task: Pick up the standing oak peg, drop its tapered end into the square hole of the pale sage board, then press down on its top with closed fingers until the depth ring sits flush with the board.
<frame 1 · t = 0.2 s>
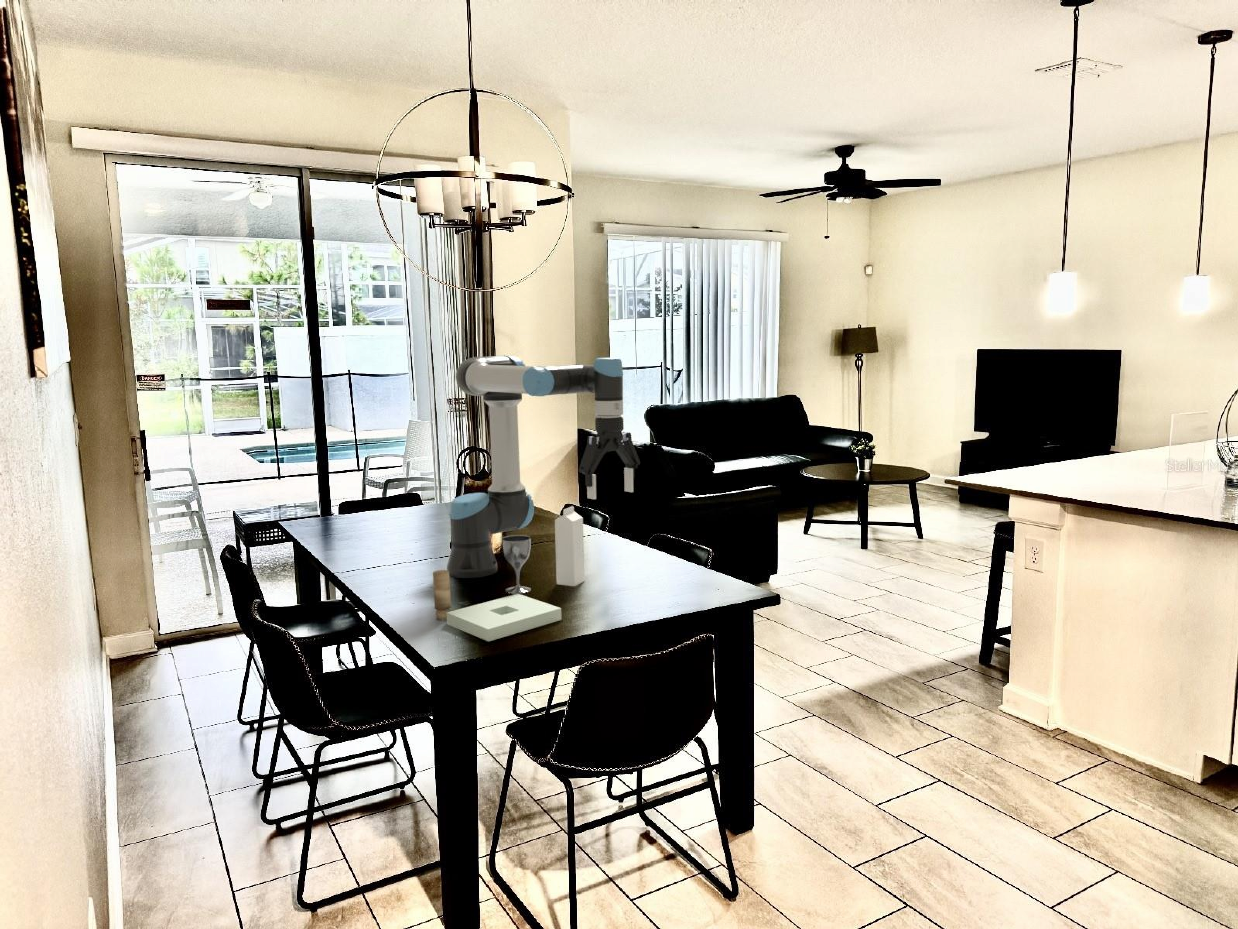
hand: (610, 495, 236), 28 cm above the table, fingers open, 13 cm apart
milk: (570, 583, 253), on the table
wine glass: (518, 590, 246), on the table
peg: (443, 617, 223), on the table
board: (504, 622, 219), on the table
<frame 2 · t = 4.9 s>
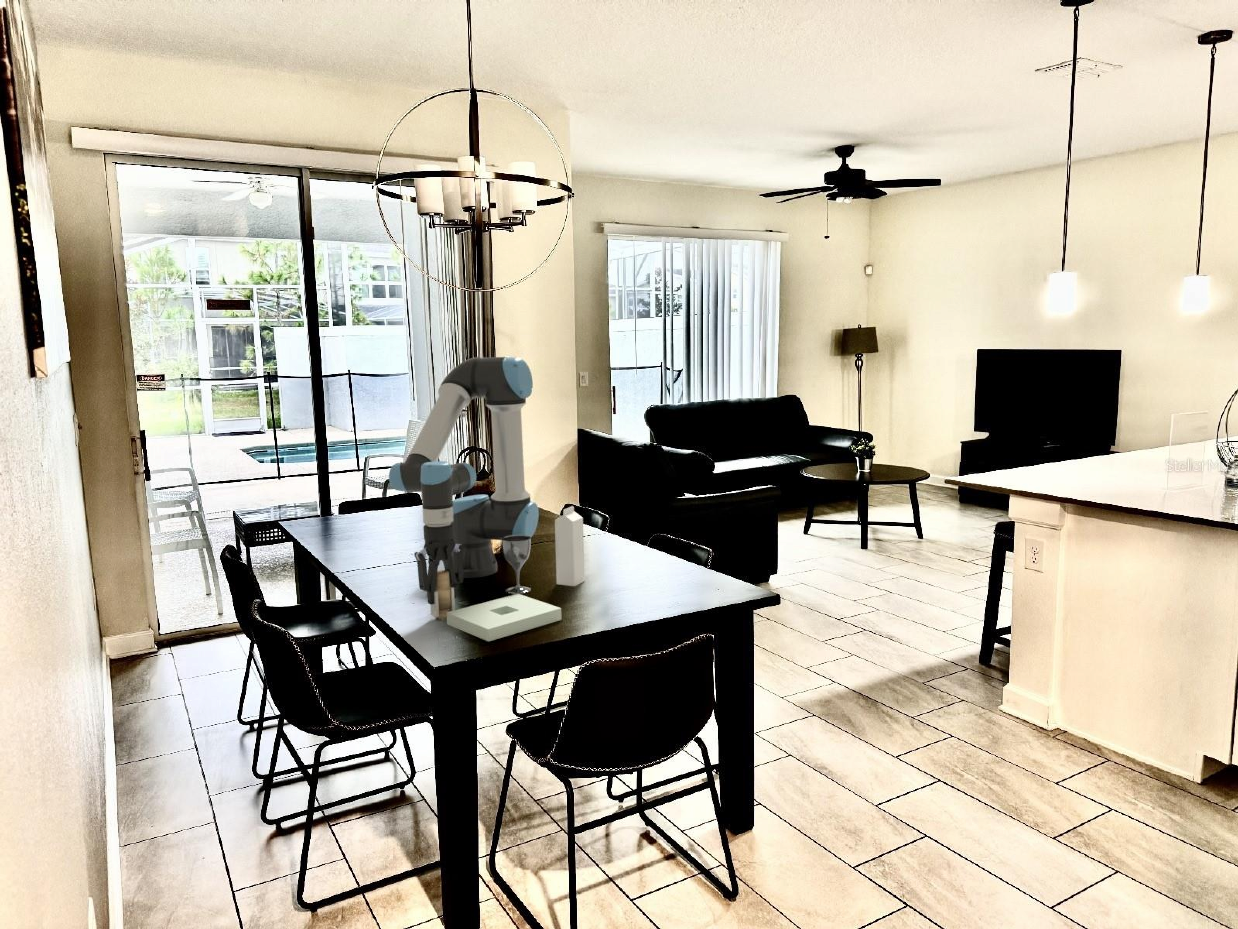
hand: (443, 613, 223), 1 cm above the table, fingers closed on peg, 4 cm apart
peg: (443, 617, 223), on the table, touching gripper
everything else where it was.
when the fingers open (5 cm above the table, at t = 8.3 s): peg drops 4 cm, resting in board.
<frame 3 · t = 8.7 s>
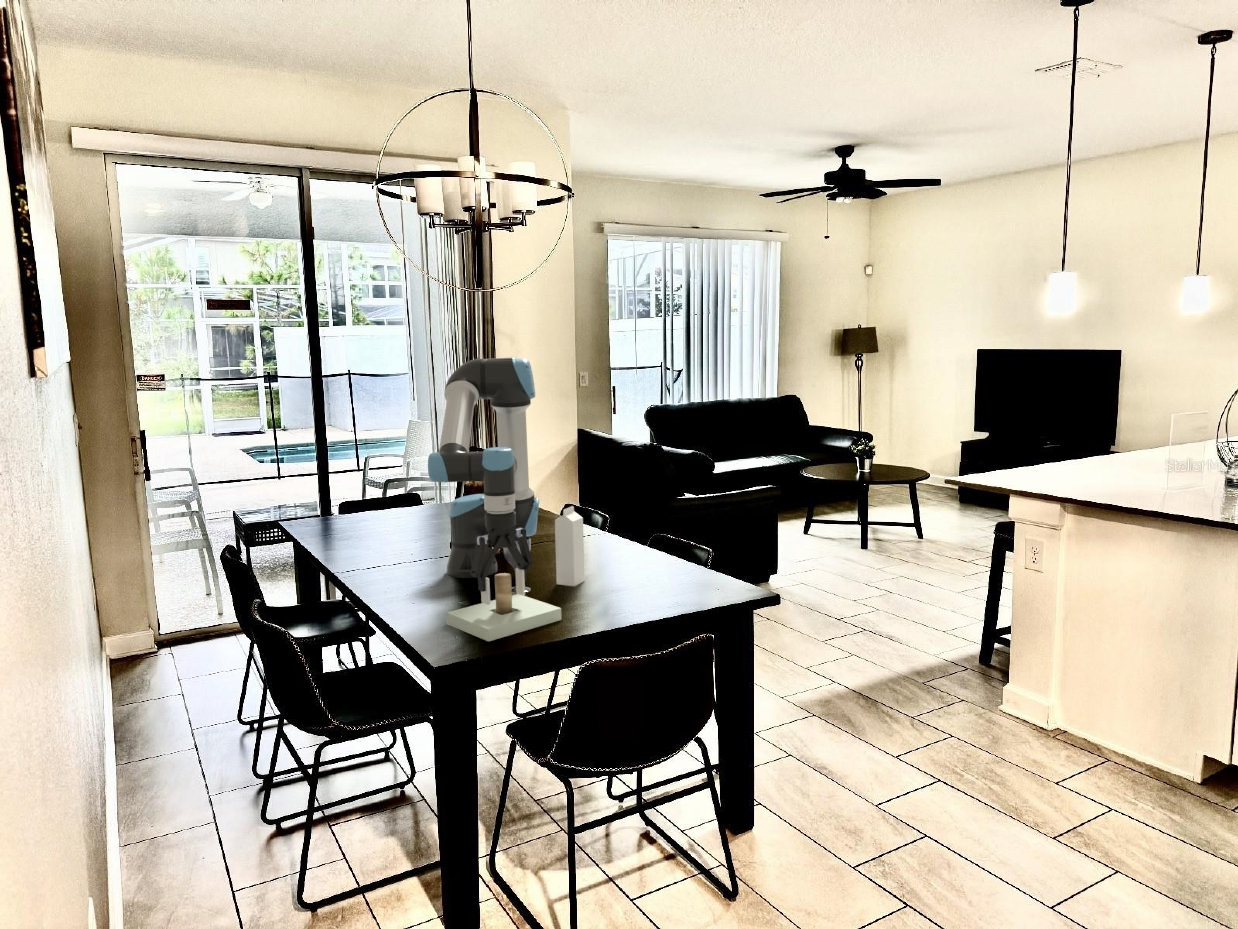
hand: (503, 598, 218), 6 cm above the table, fingers open, 10 cm apart
peg: (504, 622, 219), resting in board
everything else where it was.
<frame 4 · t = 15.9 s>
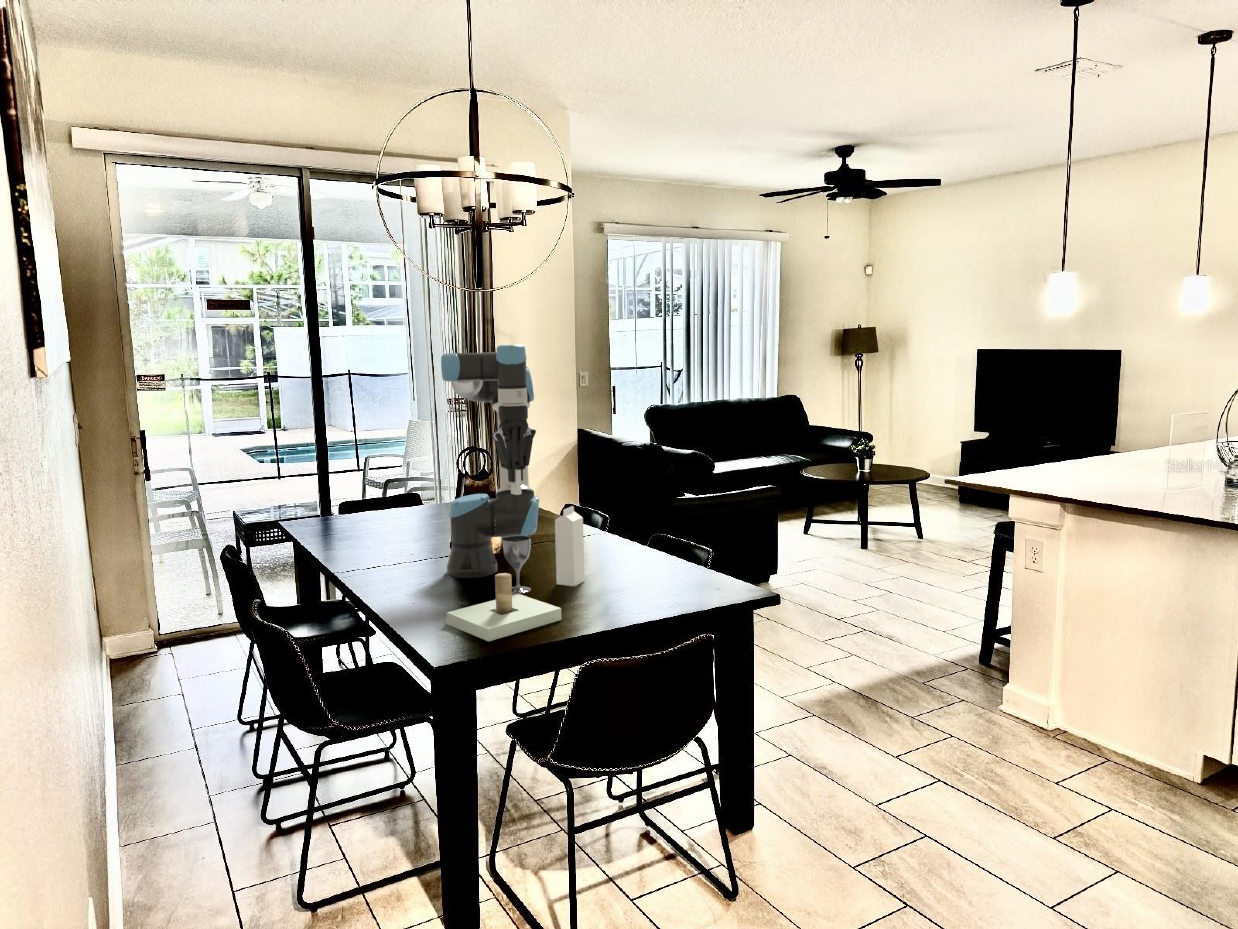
hand: (516, 493, 232), 29 cm above the table, fingers closed
nothing on the table moved.
at the end: peg 0.0 cm off-centre on the board, point 0.0 cm above the board's base; peg tilted 1°; the gripper is holding nothing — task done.
